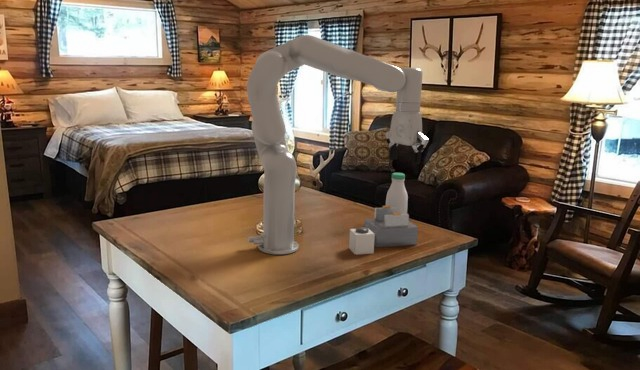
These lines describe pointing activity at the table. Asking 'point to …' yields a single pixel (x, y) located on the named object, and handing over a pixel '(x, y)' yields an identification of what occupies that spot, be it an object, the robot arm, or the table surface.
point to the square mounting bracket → (392, 228)
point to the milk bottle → (397, 193)
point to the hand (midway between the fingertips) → (404, 161)
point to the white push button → (361, 241)
